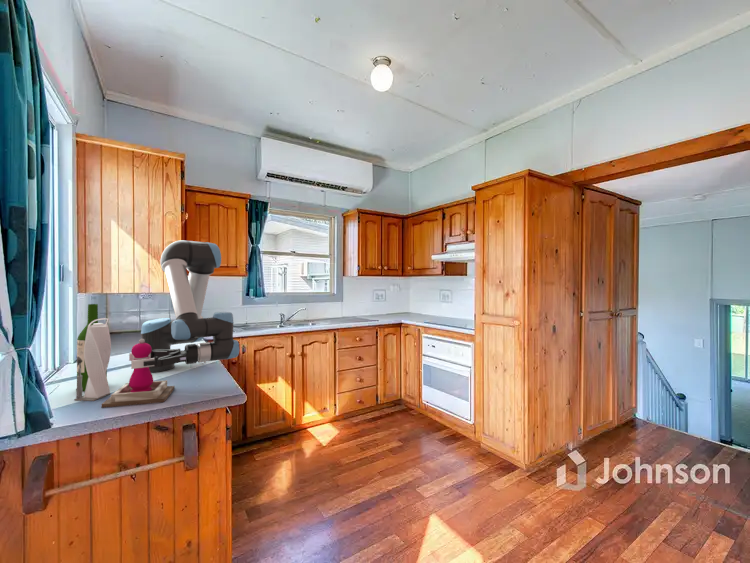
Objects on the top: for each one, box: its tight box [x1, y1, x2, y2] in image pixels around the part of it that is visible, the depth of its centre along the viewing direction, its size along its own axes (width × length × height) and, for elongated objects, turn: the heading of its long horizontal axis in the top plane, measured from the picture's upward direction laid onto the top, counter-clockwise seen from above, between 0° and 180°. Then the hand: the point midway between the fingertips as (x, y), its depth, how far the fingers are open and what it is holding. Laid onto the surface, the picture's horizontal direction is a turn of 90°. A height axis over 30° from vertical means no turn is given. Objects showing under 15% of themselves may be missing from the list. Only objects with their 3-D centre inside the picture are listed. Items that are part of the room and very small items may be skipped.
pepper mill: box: [128, 338, 154, 392], centre depth 121 cm, size 7×7×20 cm
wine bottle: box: [76, 303, 108, 392], centre depth 131 cm, size 9×9×32 cm
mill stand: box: [101, 379, 176, 408], centre depth 121 cm, size 15×18×4 cm
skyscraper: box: [74, 317, 112, 402], centre depth 121 cm, size 8×8×28 cm
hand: (130, 360), depth 119 cm, fingers open, 13 cm apart
